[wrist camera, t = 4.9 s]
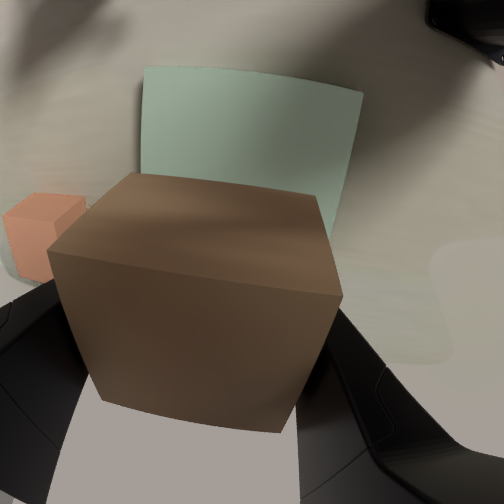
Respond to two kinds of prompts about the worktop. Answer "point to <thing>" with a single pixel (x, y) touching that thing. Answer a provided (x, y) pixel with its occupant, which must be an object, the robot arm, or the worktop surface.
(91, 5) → the worktop surface
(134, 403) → the walnut brick
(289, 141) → the base plate
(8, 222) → the terracotta brick
